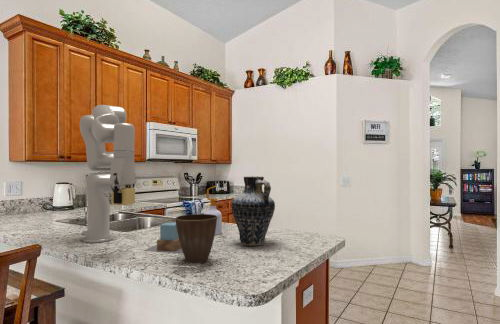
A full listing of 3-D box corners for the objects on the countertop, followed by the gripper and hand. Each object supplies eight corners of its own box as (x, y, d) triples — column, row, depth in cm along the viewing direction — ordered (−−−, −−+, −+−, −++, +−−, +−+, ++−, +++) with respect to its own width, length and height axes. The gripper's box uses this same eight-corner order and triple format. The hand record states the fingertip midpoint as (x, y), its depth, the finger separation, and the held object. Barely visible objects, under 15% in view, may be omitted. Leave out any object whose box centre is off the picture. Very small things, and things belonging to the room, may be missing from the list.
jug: (222, 243, 143) (221, 176, 144) (252, 237, 157) (252, 175, 157) (255, 252, 128) (255, 176, 129) (286, 244, 142) (285, 176, 143)
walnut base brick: (156, 250, 130) (156, 240, 130) (166, 245, 137) (166, 236, 137) (175, 251, 128) (175, 241, 128) (183, 246, 135) (183, 237, 135)
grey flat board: (143, 252, 129) (143, 250, 129) (158, 245, 140) (158, 243, 140) (184, 255, 124) (184, 253, 124) (196, 247, 136) (196, 246, 136)
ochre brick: (111, 204, 122) (111, 188, 122) (121, 202, 127) (121, 187, 127) (125, 205, 120) (125, 189, 120) (134, 203, 126) (135, 188, 126)
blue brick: (167, 236, 136) (167, 222, 136) (180, 237, 135) (180, 223, 135) (160, 239, 130) (160, 224, 130) (173, 240, 129) (173, 225, 129)
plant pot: (179, 270, 106) (179, 221, 106) (171, 258, 120) (171, 215, 120) (222, 264, 112) (222, 218, 112) (210, 254, 126) (210, 213, 126)
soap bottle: (220, 235, 162) (220, 186, 162) (202, 235, 162) (202, 186, 162) (222, 231, 171) (222, 185, 171) (205, 231, 171) (205, 185, 171)
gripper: (128, 156, 133) (128, 199, 133) (100, 155, 116) (99, 204, 116) (145, 156, 131) (144, 200, 131) (118, 155, 115) (117, 205, 115)
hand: (123, 202), depth 124 cm, fingers closed on ochre brick, 6 cm apart
